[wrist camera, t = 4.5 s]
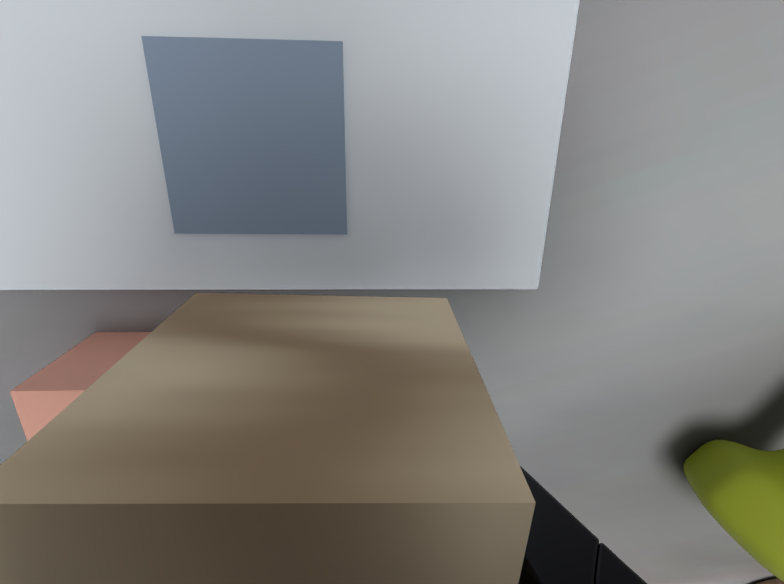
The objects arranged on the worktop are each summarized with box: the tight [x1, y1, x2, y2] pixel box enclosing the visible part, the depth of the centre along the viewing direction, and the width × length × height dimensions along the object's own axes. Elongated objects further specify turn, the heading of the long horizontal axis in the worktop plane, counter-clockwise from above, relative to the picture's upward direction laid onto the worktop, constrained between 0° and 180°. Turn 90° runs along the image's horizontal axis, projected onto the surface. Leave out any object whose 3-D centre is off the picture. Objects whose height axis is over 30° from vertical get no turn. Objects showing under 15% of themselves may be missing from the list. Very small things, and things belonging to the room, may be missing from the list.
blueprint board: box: [0, 0, 579, 290], centre depth 16 cm, size 24×16×1 cm, turn 89°
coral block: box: [10, 332, 151, 441], centre depth 18 cm, size 5×5×5 cm
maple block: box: [0, 293, 536, 584], centre depth 7 cm, size 5×5×5 cm
